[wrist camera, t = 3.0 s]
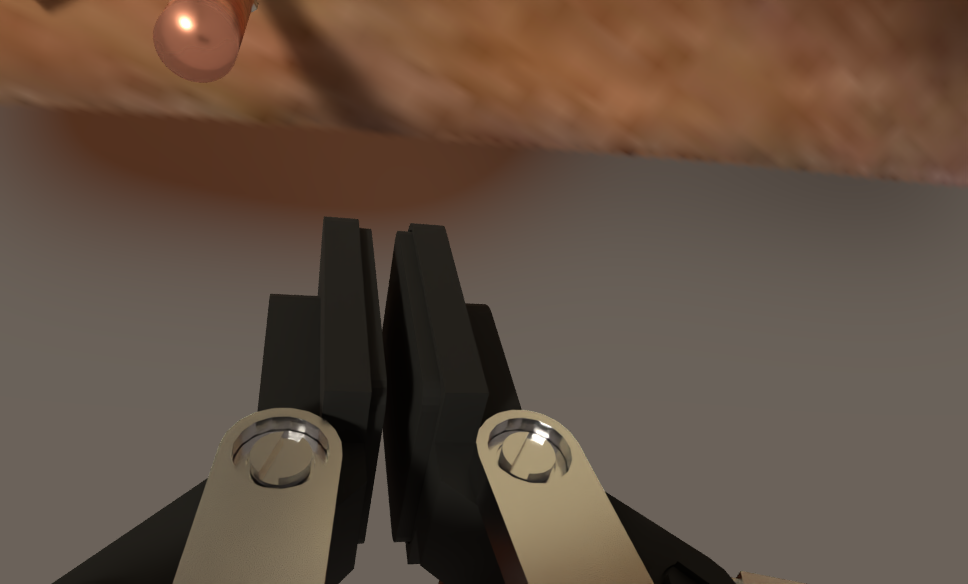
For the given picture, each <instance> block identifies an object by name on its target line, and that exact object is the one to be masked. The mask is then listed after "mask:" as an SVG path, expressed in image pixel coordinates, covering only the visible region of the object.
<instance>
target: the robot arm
mask: <svg viewBox="0 0 968 584" xmlns="http://www.w3.org/2000/svg"><path fill="white" fill-rule="evenodd" d="M382 428H383V439H384V449H385V461H386V472H387V484H388V495H389V506H390V517H391V528H392V537H393V541H394V542H405V543H406V552H407V561H408V564H420V565H421V566H422V567H423V568H424V569H426V570H427V571H428V572H430V573H431V574H432V575H433V576H435V577H436V578H437V579H439V582H438V584H805V583H800V582H795V581H790V580H785V579H779V578H775V577H769V576H764V575H759V574H754V573H749V572H744V571H740V572H739V574H738V575H737V577H736V578H732V577H730V576H729V575H728V574H727V572H726V571H725V570H724V569H723V568H721V567H720V566H719V565H717V564H716V563H715V562H714V561H712V560H711V559H710V558H709V557H707V556H705V555H704V554H702V553H701V552H699V551H698V550H696V549H694V548H693V547H691V546H690V545H688V544H687V543H685V542H683V541H682V540H680V539H679V538H677V537H676V536H674V535H673V534H671V533H669V532H668V531H666V530H665V529H663V528H662V527H660V526H658V525H657V524H655V523H654V522H652V521H651V520H649V519H647V518H646V517H644V516H643V515H641V514H639V513H638V512H636V511H635V510H633V509H632V508H630V507H629V506H627V505H625V504H624V503H622V502H621V501H619V500H617V499H616V498H614V497H613V496H611V495H610V494H608V493H606V492H605V491H604V490H603V488H602V486H601V484H600V482H599V480H598V479H597V477H596V475H595V473H594V471H593V470H592V467H591V465H590V464H589V462H588V460H587V458H586V456H585V454H584V452H583V450H582V449H581V447H580V445H579V443H578V442H577V441H576V439H575V438H574V437H573V435H572V434H571V433H570V431H569V430H567V429H566V428H565V427H563V426H562V425H561V424H560V423H559V422H557V421H555V420H553V419H551V418H549V417H547V416H545V415H543V414H540V413H536V412H531V411H528V410H521V406H520V403H519V400H518V396H517V393H516V390H515V387H514V384H513V380H512V377H511V374H510V371H509V368H508V364H507V361H506V358H505V355H504V352H503V348H502V345H501V342H500V338H499V335H498V332H497V329H496V326H495V323H494V320H493V316H492V313H491V310H490V308H489V307H488V306H487V305H486V304H466V303H465V301H464V297H463V294H462V290H461V286H460V282H459V278H458V275H457V271H456V267H455V263H454V260H453V256H452V252H451V248H450V245H449V241H448V237H447V233H446V230H445V227H444V226H439V225H427V224H414V223H411V224H410V226H409V229H408V232H405V231H397V234H396V238H395V244H394V251H393V259H392V266H391V273H390V280H389V287H388V294H387V301H386V308H385V315H384V322H383V329H382V328H381V318H380V309H379V299H378V290H377V279H376V270H375V260H374V251H373V241H372V231H371V229H364V228H359V220H358V219H350V218H337V217H324V220H323V232H322V245H321V259H320V272H319V287H318V296H303V295H283V294H282V295H281V294H270V299H269V308H268V318H267V328H266V336H265V346H264V355H263V365H262V374H261V384H260V393H259V403H258V412H255V413H253V414H251V415H249V416H247V417H245V418H243V419H241V420H239V421H238V422H237V423H236V424H235V425H234V426H232V427H231V428H230V429H229V430H228V431H227V432H226V434H225V435H224V437H223V439H222V441H221V443H220V444H219V447H218V450H217V453H216V456H215V459H214V462H213V465H212V468H211V470H210V474H209V476H208V478H207V479H206V480H204V481H203V482H201V483H200V484H199V485H197V486H195V487H194V488H192V489H191V490H189V491H188V492H187V493H185V494H184V495H182V496H181V497H179V498H178V499H176V500H175V501H173V502H172V503H171V504H169V505H167V506H166V507H165V508H163V509H161V510H160V511H158V512H157V513H155V514H154V515H153V516H151V517H150V518H148V519H147V520H145V521H144V522H143V523H141V524H139V525H138V526H136V527H135V528H133V529H132V530H130V531H129V532H128V533H126V534H124V535H123V536H121V537H120V538H119V539H117V540H116V541H114V542H113V543H111V544H110V545H108V546H107V547H105V548H104V549H102V550H101V551H99V552H98V553H96V554H95V555H93V556H92V557H90V558H89V559H88V560H86V561H85V562H83V563H82V564H80V565H79V566H77V567H76V568H74V569H73V570H71V571H70V572H68V573H67V574H65V575H64V576H63V577H61V578H59V579H58V580H57V581H55V582H54V583H52V584H339V583H340V582H341V581H342V580H343V579H344V578H345V577H346V576H347V575H348V574H349V573H350V572H351V571H352V570H353V569H354V564H355V557H356V550H357V544H360V543H361V544H362V543H364V541H365V535H366V529H367V523H368V516H369V510H370V504H371V498H372V491H373V485H374V479H375V472H376V466H377V459H378V453H379V447H380V441H381V433H382Z"/></svg>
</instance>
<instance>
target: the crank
mask: <svg viewBox="0 0 968 584" xmlns="http://www.w3.org/2000/svg"><path fill="white" fill-rule="evenodd" d="M258 4H259V3H258V2H257V0H170V1H169V3H168V4H167V6H166V7H165V9H164V10H163V12H162V13H161V15H160V16H159V17H158V19H157V21H156V24H155V26H154V31H153V39H154V45H155V49H156V51H157V53H158V55H159V57H160V59H161V60H162V62H163V63H164V64H165V65H166V67H168V68H169V69H170V70H171V71H172V72H173V73H175V74H176V75H178V76H180V77H182V78H184V79H186V80H189V81H193V82H200V83H206V82H212V81H216V80H218V79H220V78H222V77H224V76H225V75H226V74H227V73H228V72H229V71H230V70H231V69H232V67H233V66H234V64H235V61H236V58H237V55H238V52H239V49H240V45H241V42H242V39H243V36H244V33H245V29H246V26H247V23H248V20H249V16H250V13H251V12H253V11H255V10H257V8H258Z"/></svg>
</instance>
